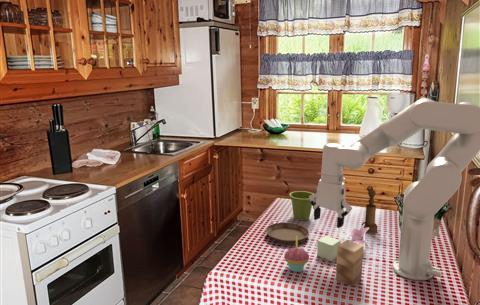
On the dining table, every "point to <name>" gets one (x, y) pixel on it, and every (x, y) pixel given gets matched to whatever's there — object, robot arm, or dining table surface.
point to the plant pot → (301, 204)
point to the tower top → (350, 254)
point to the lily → (359, 235)
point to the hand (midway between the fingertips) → (328, 222)
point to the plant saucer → (287, 233)
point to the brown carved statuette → (370, 214)
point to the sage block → (328, 247)
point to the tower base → (348, 274)
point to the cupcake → (296, 258)
